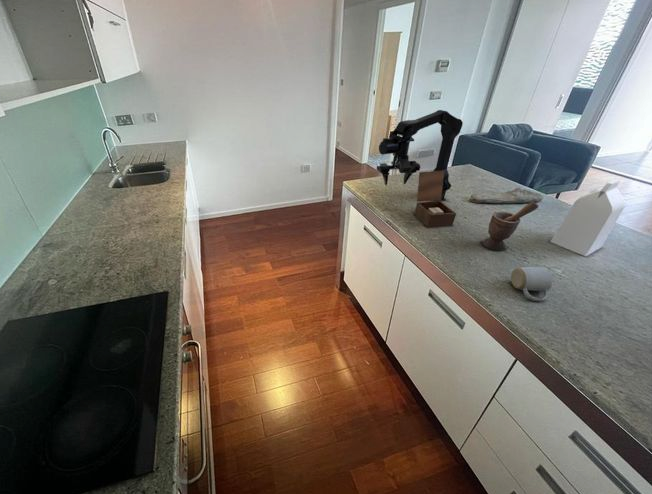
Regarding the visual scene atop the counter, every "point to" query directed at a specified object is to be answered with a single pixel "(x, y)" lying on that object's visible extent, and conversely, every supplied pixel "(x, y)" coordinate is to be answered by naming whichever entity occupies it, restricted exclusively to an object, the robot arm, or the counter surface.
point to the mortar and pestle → (505, 226)
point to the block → (435, 211)
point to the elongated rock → (507, 197)
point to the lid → (430, 186)
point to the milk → (590, 220)
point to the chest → (434, 219)
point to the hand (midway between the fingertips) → (395, 184)
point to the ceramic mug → (532, 280)
